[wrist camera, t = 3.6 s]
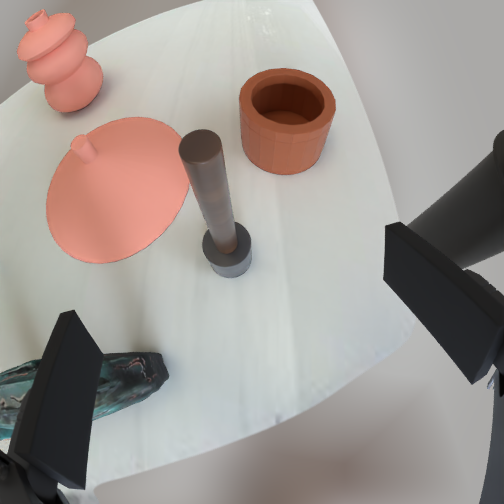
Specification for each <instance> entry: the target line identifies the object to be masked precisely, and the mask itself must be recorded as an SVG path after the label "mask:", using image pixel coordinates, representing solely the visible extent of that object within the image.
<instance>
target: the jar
mask: <svg viewBox="0 0 504 504" xmlns="http://www.w3.org/2000/svg"><path fill="white" fill-rule="evenodd" d="M239 106H240V123H241V138H242V145H243V149H244V152H245V154H246V155H247V157H248V158H249V159H250V160H251V162H252V163H254V164H255V165H256V166H258V167H259V168H261V169H263V170H265V171H267V172H270V173H274V174H281V175H290V174H296V173H300V172H303V171H305V170H307V169H308V168H310V167H311V166H313V165H314V164H315V163H316V161H317V160H318V159H319V157H320V154H321V152H322V149H323V147H324V144H325V141H326V138H327V135H328V132H329V129H330V126H331V123H332V120H333V117H334V114H335V111H336V104H335V99H334V96H333V94H332V92H331V90H330V89H329V88H328V87H327V86H326V85H325V84H324V83H323V82H322V81H321V80H319V79H318V78H316V77H315V76H313V75H311V74H308V73H306V72H303V71H300V70H295V69H287V68H279V69H271V70H270V69H269V70H266V71H263V72H260V73H257V74H256V75H254V76H253V77H251V78H250V79H248V80H247V82H246V83H245V84H244V85H243V87H242V88H241V92H240V96H239Z"/></svg>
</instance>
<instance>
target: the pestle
mask: <svg viewBox="0 0 504 504" xmlns="http://www.w3.org/2000/svg"><path fill="white" fill-rule="evenodd" d="M178 152H179V155H180V158H181V160H182V163H183V166H184V168H185V171H186V173H187V176H188V178H189V181H190V184H191V186H192V189H193V191H194V194H195V196H196V199H197V201H198V204H199V206H200V209H201V211H202V214H203V216H204V219H205V221H206V224H207V226H208V230H207V232H206V233H205V235H204V238H203V242H202V247H203V252H204V254H205V256H206V258H207V259H208V261H209V263H210V265H211V266H212V268H213V269H214V271H215V272H216V273H217V274H219V275H221V276H223V277H226V278H234V277H238V276H240V275H242V274H243V273H244V272H245V271H246V270H247V269H248V268H249V266H250V263H251V238H250V235H249V233H248V231H247V230H246V229H245V228H244V227H243V226H242V225H241V224H239V223H237V222H234V217H233V211H232V205H231V199H230V193H229V187H228V181H227V174H226V168H225V162H224V156H223V149H222V143H221V140H220V138H219V136H218V135H217V134H216V133H214V132H212V131H210V130H205V129H201V130H195V131H192V132H190V133H189V134H187V135H186V136H185V137H184V138H183V139H182V140H181V142H180V144H179V148H178Z"/></svg>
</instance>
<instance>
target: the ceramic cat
mask: <svg viewBox="0 0 504 504" xmlns="http://www.w3.org/2000/svg"><path fill="white" fill-rule="evenodd" d="M40 362H41V359H38V360H32V361H29V362H26V363H24V364H22V365H20V366H17V367H14V368H12V369H9V370H6V371H4V372H2V373H0V441H1V440H9V439H11V437H12V433H13V429H14V426H15V422H17V420H16V419H17V415H18V413H19V409H20V405H21V402H22V399H23V397H24V396H25V394H26V393H27V391H28V390H29V388H31V387H32V384H33V381H34V378H35V375H36V373H37V370H38V367H39V364H40ZM168 378H169V374H168V371H167V369H166V367H165V365H164V362H163V358H162V355H161V354H159V353H153V352H128V353H109V354H104V358H103V363H102V368H101V373H100V378H99V383H98V389H97V394H96V400H95V406H94V413H93V419H92V421H93V420H96V419H98V418H101V417H103V416H106V415H109V414H112V413H114V412H116V411H118V410H121V409H123V408H126V407H128V406H130V405H132V404H135V403H138V402H141V401H143V400H144V399H146V398H148V397H149V396H150V395H151V394H152V393H154V392H156V391H157V390H159V389H160V387H161V386H162V385H163V383H164V382H165V381H166V380H167V379H168Z"/></svg>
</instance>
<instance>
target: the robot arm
mask: <svg viewBox="0 0 504 504" xmlns="http://www.w3.org/2000/svg"><path fill="white" fill-rule="evenodd" d="M383 280H384V281H385V282H386V283H387V284H388V285H389V287H390V288H391V289H392V290H393V291H394V292H395V293H396V294H397V295H398V296H399V298H400V299H401V300H402V301H403V302H404V303H405V304H406V305H407V307H408V308H409V309H410V310H411V311H412V312H413V313H414V315H415V316H416V317H417V318H418V319H419V320H420V321H421V323H422V324H423V325H424V326H425V327H426V328H427V330H428V331H429V332H430V333H431V334H432V336H433V337H434V338H435V339H436V340H437V342H438V343H439V344H440V345H441V346H442V347H443V349H444V350H445V351H446V353H447V354H448V355H449V356H450V358H451V359H452V360H453V361H454V362H455V364H456V365H457V366H458V368H459V369H460V370H461V371H462V373H463V374H464V375H465V377H466V378H467V379H468V381H469V382H470V383H471V384H474V383H475V382H477V381H478V380H480V379H481V378H483V377H484V376H485V375H487V373H488V371H489V369H490V367H491V366H492V364H494V365H495V367H496V368H497V369H496V371H495V373H494V374H493V376H492V378H491V379H490V381H489V383H488V386H487V389H489V388H490V387H491V385H492V384H493V382H494V387H493V389H494V408H493V424H492V434H491V443H490V451H489V457H488V464H487V470H486V475H485V480H484V486H483V490H482V494H481V498H480V502H479V504H504V296H503V295H502V294H501V293H500V292H499V291H496V288H495V287H493V286H492V285H491V284H489V282H488V281H487V280H485V279H484V278H483V277H482V276H480V275H479V274H477V273H475V272H473V271H471V270H468V269H467V270H464V271H463V270H462V269H461V268H460V267H459V266H457V265H456V264H455V263H454V262H452V261H451V260H450V259H449V258H448V257H446V256H445V255H444V254H442V253H441V252H440V251H439V250H437V249H436V248H435V247H434V246H432V245H431V244H430V243H428V242H427V241H426V240H424V239H423V238H422V237H420V236H419V235H418V234H416V233H415V232H414V231H412V230H411V229H410V228H408V227H407V226H405V225H404V224H403V223H401V222H396V223H393V224H389V225H386V226H385V256H384V276H383ZM103 358H104V354H103V353H102V352H101V350H100V349H99V347H98V346H97V344H96V343H95V341H94V340H93V338H92V337H91V335H90V334H89V332H88V331H87V329H86V328H85V326H84V325H83V323H82V321H81V320H80V318H79V317H78V315H77V313H76V312H75V310H71V311H67V312H63V313H60V315H59V318H58V320H57V322H56V324H55V327H54V329H53V331H52V334H51V336H50V339H49V341H48V344H47V346H46V349H45V351H44V354H43V356H42V359H41V362H40V364H39V367H38V370H37V373H36V375H35V378H34V381H33V384H32V387H31V388H29V390H28V391H27V393H26V394H25V396H24V397H23V399H22V402H21V405H20V409H19V413H18V415H17V419H16V420H17V422H15V426H14V429H13V433H12V437H11V441H10V445H9V449H8V453H7V455H6V454H5V453H4V452H2V451H1V450H0V504H69V502H68V500H67V499H66V497H65V496H64V494H63V493H62V491H61V490H60V489H58V488H57V485H58V482H59V483H60V484H62V485H64V486H65V487H67V488H71V489H82V490H85V485H86V472H87V460H88V451H89V442H90V434H91V426H92V419H93V413H94V406H95V400H96V394H97V389H98V383H99V378H100V373H101V368H102V363H103Z"/></svg>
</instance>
